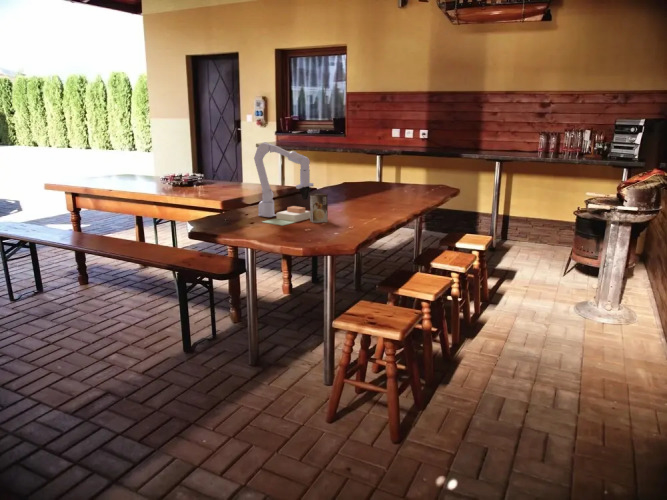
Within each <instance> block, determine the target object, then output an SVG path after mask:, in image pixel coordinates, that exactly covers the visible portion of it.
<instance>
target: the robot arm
mask: <svg viewBox="0 0 667 500" xmlns="http://www.w3.org/2000/svg"><path fill="white" fill-rule="evenodd" d="M269 153H276V154H279V155H281V156H284V157H287V160H288V161H291V162H292V163H295V164H298V165H300V169H299V178H300V179H299V184H296V185H295V188H296V189H298V190H299V192H300V195H301V198H302V200H304V201H305V200H308V198H309V196H310V195H309V194H310V191H311V189H312V187H314V183H313V182H311V181H310V179H311V178H310V177H311V176H310V175H311V174H310V173H311V172H310V171H311V170H310V163H311V162H310V161H311V160H310V159H309V157H307V156H304V154H300V153H298V152H297V151H295V150H294V151H293V150H292V151H290V152H289V151H288V150H286V149H283V148H282V147H280V146H277V145H274V144H272V143H268V142H262V143H260V144H259V145H258V147H257V148H256V151H255V155H254V157H253V159H254V164H255V167H256V171H257V174H258V178H259V182H260V186H261V192H262V193H261V194H262V195H261V198H262V200H261V201H260V202H259V203H258V206H257V207H258V215H257V216H258V217H265V218H273V217H277V214H275V200H274V199H273V198H274V195H275V193H274V192H273V191H272V188H271V186H270V182H269V178H268V176H267V172H266V168H265V163H264V158H265V156H266V155H267V154H269Z"/></svg>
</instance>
